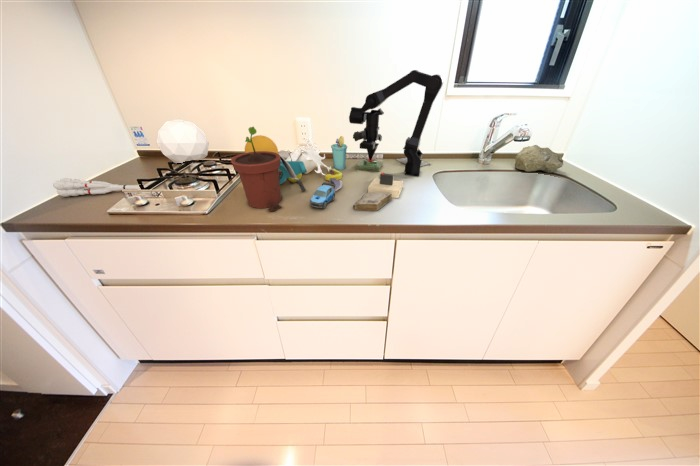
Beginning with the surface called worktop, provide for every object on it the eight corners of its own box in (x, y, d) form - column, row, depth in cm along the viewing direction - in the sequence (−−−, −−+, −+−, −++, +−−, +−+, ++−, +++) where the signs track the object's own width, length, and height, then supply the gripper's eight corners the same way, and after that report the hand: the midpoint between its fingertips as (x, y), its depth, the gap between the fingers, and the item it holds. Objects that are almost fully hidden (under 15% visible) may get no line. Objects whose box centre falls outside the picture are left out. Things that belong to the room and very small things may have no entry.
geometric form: (147, 153, 122) (141, 125, 102) (182, 130, 133) (182, 101, 113) (184, 182, 129) (186, 162, 109) (214, 158, 140) (221, 136, 119)
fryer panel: (402, 188, 102) (403, 181, 100) (398, 198, 94) (399, 190, 92) (373, 184, 105) (374, 177, 103) (367, 194, 97) (368, 186, 95)
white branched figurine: (303, 130, 112) (291, 140, 116) (295, 150, 99) (281, 161, 103) (332, 162, 123) (320, 170, 127) (328, 184, 109) (315, 193, 113)
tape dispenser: (271, 183, 101) (262, 164, 97) (306, 170, 102) (298, 151, 98) (271, 187, 95) (262, 168, 91) (308, 174, 96) (300, 154, 92)
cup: (345, 173, 115) (345, 140, 107) (329, 173, 116) (327, 139, 108) (348, 164, 127) (348, 133, 119) (333, 163, 128) (332, 132, 119)
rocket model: (51, 173, 90) (144, 175, 95) (69, 182, 97) (155, 183, 102) (46, 192, 88) (142, 192, 93) (65, 200, 95) (153, 200, 100)
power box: (382, 166, 125) (383, 158, 122) (378, 171, 118) (379, 163, 115) (361, 163, 128) (362, 155, 125) (356, 169, 120) (356, 161, 118)
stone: (371, 215, 83) (371, 207, 81) (351, 208, 87) (351, 200, 85) (392, 199, 93) (393, 192, 91) (373, 194, 97) (374, 186, 95)
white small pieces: (310, 130, 121) (314, 135, 122) (303, 136, 124) (307, 141, 126) (289, 159, 102) (294, 164, 103) (280, 165, 105) (285, 170, 107)
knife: (346, 194, 97) (340, 172, 117) (346, 188, 95) (340, 166, 116) (326, 195, 96) (324, 172, 116) (326, 189, 94) (323, 167, 115)
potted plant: (252, 190, 99) (236, 122, 85) (306, 190, 99) (299, 123, 85) (235, 211, 84) (212, 134, 70) (298, 211, 84) (288, 135, 71)
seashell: (290, 176, 110) (275, 180, 115) (307, 161, 120) (293, 166, 126) (277, 154, 105) (262, 160, 111) (296, 141, 115) (282, 147, 121)
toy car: (307, 207, 86) (307, 192, 83) (322, 195, 96) (322, 181, 93) (323, 211, 84) (323, 196, 81) (336, 198, 94) (336, 184, 91)
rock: (577, 152, 107) (566, 157, 120) (533, 132, 113) (527, 140, 127) (551, 183, 113) (543, 185, 126) (510, 163, 119) (507, 167, 132)
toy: (251, 173, 112) (282, 159, 113) (234, 141, 108) (265, 127, 109) (258, 173, 126) (285, 161, 127) (243, 145, 122) (270, 133, 123)
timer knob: (392, 184, 98) (393, 173, 95) (392, 185, 97) (393, 175, 94) (380, 182, 99) (381, 172, 97) (379, 183, 98) (380, 173, 95)
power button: (374, 162, 122) (374, 158, 121) (372, 164, 119) (373, 160, 118) (367, 161, 123) (367, 157, 122) (365, 163, 120) (365, 160, 119)
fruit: (304, 183, 105) (302, 154, 99) (289, 186, 102) (285, 157, 96) (299, 177, 110) (295, 150, 103) (284, 180, 107) (279, 153, 101)
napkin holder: (412, 159, 133) (414, 145, 129) (421, 163, 128) (423, 148, 124) (407, 160, 132) (409, 146, 128) (415, 164, 127) (418, 149, 123)
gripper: (360, 120, 121) (360, 152, 130) (348, 127, 106) (348, 163, 115) (383, 121, 118) (380, 154, 127) (373, 129, 103) (371, 166, 112)
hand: (370, 159), depth 120 cm, fingers closed, pressing on power button
